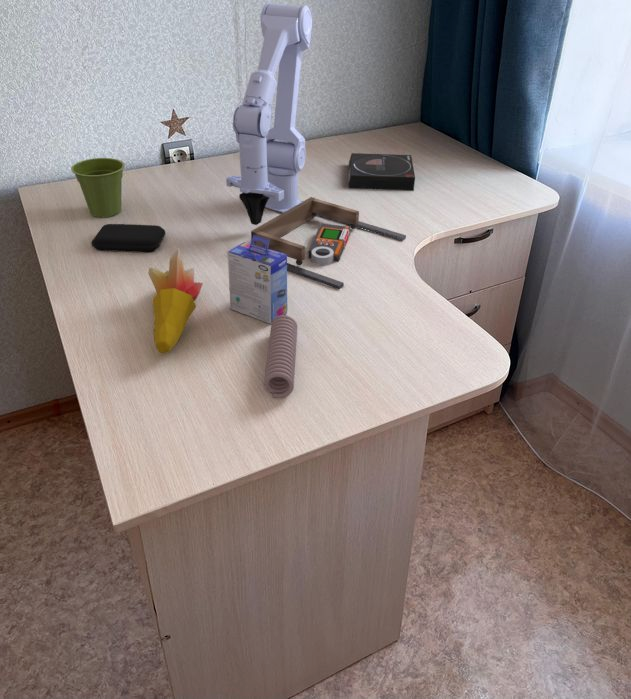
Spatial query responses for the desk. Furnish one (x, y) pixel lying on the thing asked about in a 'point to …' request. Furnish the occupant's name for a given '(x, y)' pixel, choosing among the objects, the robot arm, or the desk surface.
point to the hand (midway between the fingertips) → (256, 222)
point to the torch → (172, 301)
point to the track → (334, 282)
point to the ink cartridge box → (258, 280)
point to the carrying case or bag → (128, 238)
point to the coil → (281, 356)
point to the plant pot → (101, 184)
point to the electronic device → (328, 244)
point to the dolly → (297, 217)
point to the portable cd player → (381, 172)
